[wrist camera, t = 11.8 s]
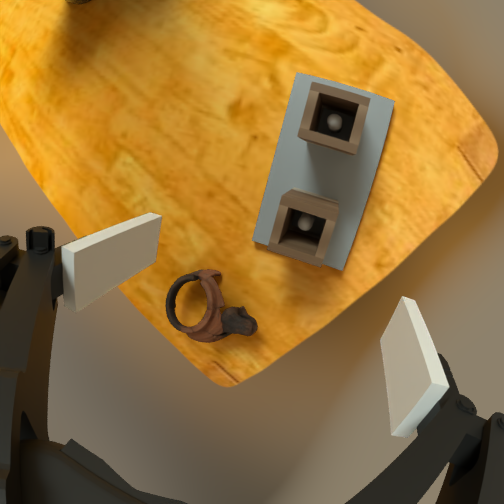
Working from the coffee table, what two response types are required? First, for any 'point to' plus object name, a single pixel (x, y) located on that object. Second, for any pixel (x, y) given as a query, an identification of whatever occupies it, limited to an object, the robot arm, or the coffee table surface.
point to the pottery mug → (210, 311)
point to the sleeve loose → (300, 241)
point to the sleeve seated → (338, 102)
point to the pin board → (325, 167)
